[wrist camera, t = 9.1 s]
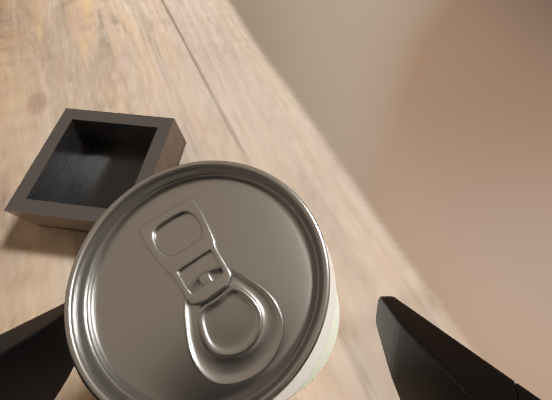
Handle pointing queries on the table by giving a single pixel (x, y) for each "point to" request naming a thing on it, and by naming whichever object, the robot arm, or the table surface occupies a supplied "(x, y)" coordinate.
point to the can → (201, 289)
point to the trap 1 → (93, 166)
